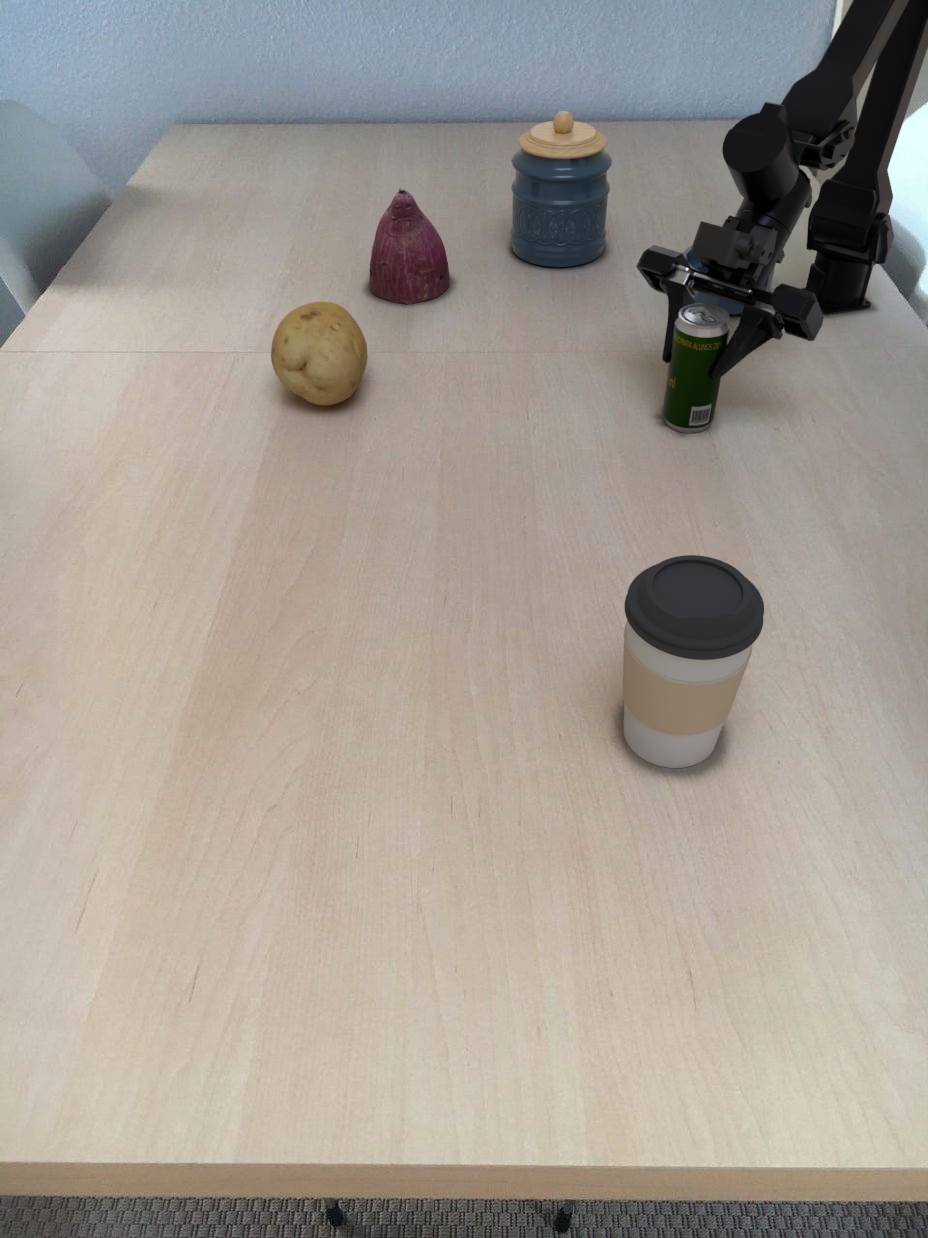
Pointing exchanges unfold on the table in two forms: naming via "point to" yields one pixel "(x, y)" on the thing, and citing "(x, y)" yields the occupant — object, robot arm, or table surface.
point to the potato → (319, 353)
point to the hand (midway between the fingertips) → (688, 370)
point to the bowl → (708, 299)
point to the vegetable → (407, 255)
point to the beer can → (694, 367)
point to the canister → (560, 193)
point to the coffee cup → (685, 655)
